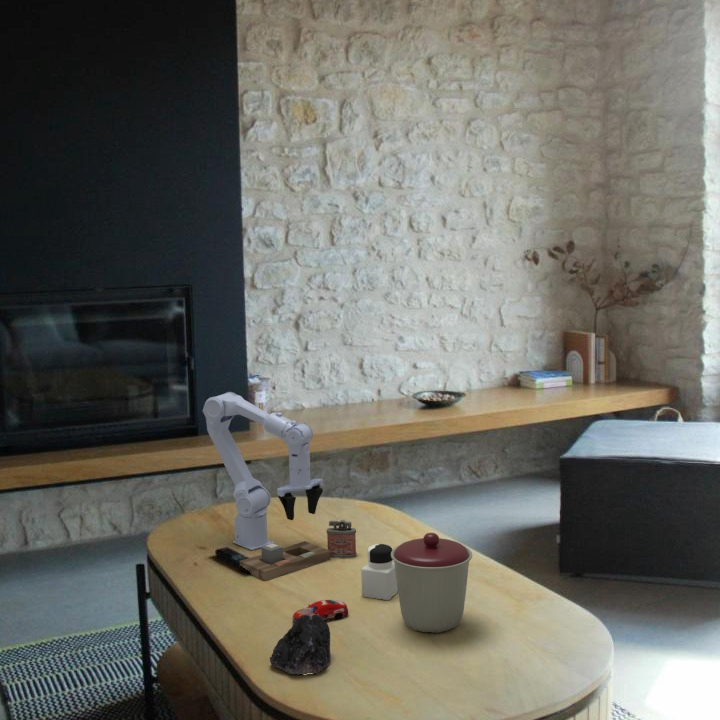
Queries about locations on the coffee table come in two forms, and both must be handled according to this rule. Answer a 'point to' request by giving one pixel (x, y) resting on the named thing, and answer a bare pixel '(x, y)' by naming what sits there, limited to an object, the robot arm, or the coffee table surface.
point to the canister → (431, 582)
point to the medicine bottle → (379, 573)
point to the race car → (324, 610)
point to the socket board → (287, 561)
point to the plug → (272, 553)
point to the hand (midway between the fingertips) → (301, 516)
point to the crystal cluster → (304, 647)
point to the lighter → (341, 539)
